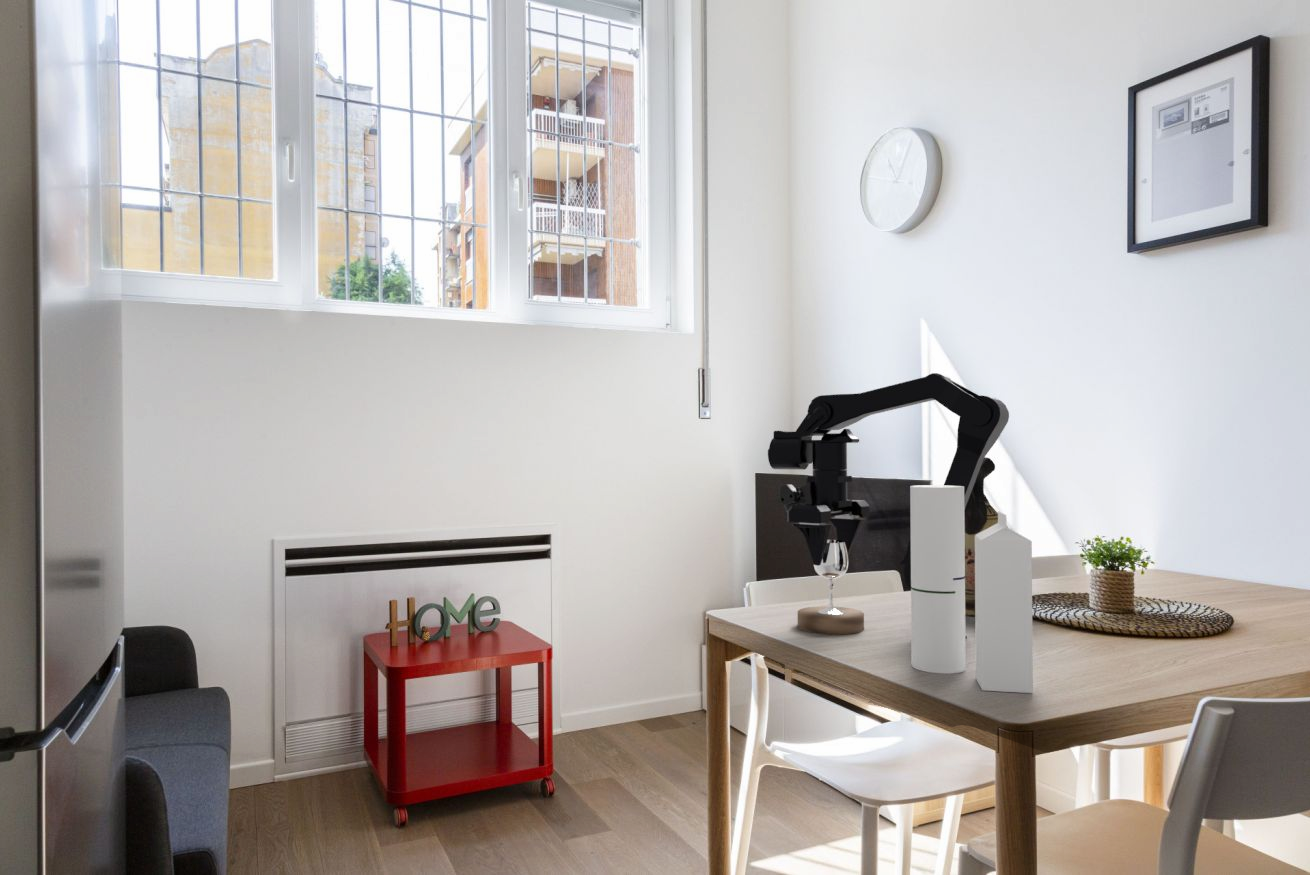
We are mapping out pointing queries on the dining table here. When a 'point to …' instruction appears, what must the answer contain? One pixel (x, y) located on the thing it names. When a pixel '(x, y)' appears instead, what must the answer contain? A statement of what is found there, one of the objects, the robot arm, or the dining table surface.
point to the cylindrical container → (938, 578)
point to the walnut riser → (830, 621)
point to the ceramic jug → (976, 529)
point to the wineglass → (833, 569)
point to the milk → (1003, 609)
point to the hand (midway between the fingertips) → (830, 562)
